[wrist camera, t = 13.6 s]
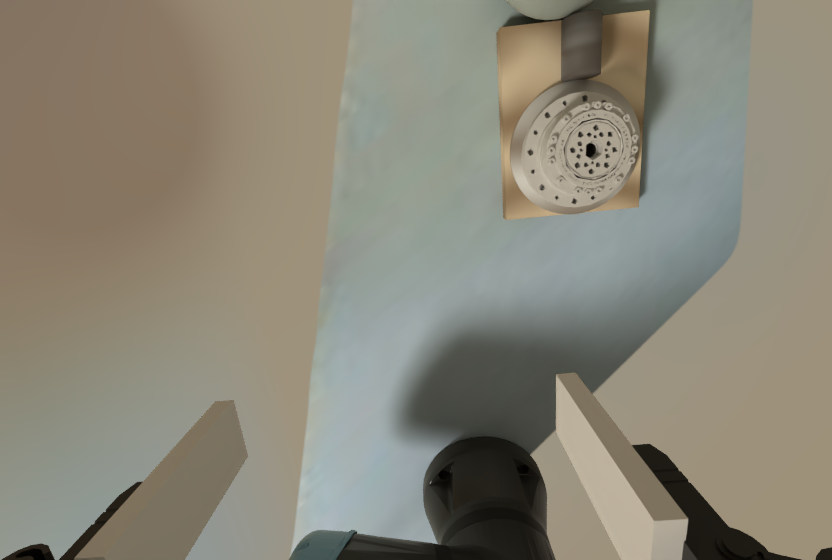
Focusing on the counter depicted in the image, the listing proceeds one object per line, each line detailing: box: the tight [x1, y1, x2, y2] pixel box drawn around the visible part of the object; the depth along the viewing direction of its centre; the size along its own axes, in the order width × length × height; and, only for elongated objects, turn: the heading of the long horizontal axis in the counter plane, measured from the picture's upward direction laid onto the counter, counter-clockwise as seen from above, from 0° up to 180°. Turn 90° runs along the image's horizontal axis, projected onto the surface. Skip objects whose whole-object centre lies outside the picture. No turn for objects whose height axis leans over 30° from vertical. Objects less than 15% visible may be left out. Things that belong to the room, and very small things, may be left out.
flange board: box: [497, 10, 650, 220], centre depth 35 cm, size 17×13×5 cm
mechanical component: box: [521, 92, 638, 207], centre depth 34 cm, size 10×4×10 cm
